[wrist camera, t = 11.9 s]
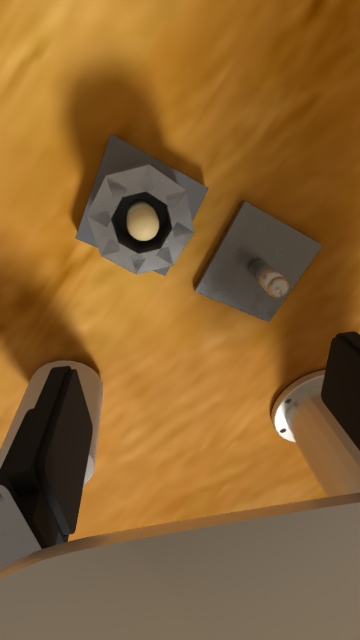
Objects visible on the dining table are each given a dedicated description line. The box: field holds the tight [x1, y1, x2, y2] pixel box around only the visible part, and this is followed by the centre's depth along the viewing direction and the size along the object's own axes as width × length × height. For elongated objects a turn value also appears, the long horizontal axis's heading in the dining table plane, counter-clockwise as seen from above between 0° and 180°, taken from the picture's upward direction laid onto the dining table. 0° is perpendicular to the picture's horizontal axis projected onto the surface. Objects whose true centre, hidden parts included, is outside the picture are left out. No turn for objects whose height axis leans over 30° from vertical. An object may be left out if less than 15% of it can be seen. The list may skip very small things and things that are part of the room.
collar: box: [87, 162, 194, 275], centre depth 22 cm, size 7×7×4 cm
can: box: [0, 361, 103, 488], centre depth 28 cm, size 8×8×12 cm
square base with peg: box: [76, 134, 208, 276], centre depth 22 cm, size 8×8×6 cm
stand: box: [194, 200, 323, 322], centre depth 26 cm, size 9×9×6 cm
